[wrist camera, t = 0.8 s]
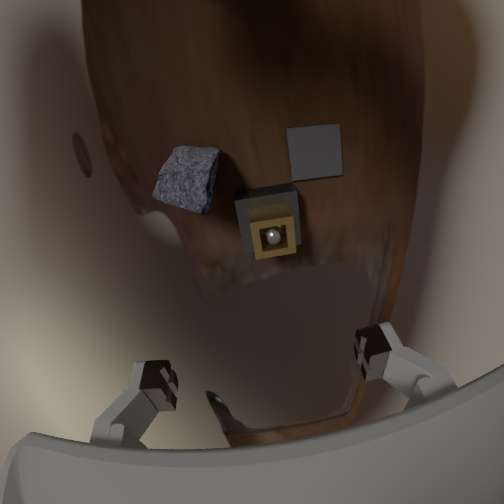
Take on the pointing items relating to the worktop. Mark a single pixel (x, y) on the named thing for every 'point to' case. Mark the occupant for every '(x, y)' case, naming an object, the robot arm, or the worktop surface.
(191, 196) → the stone
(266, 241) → the ring
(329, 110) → the worktop surface
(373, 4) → the worktop surface
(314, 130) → the mat
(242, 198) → the post block
